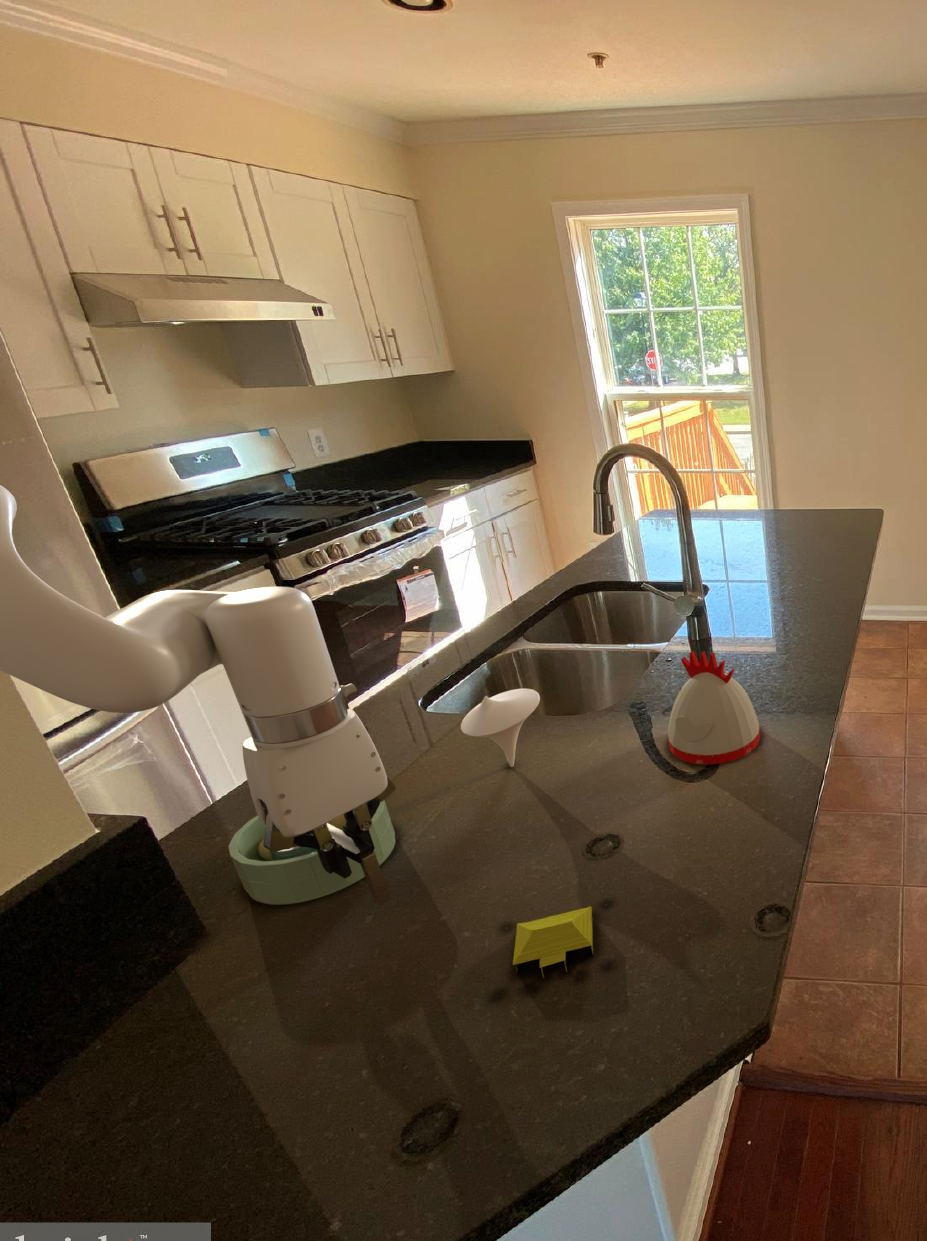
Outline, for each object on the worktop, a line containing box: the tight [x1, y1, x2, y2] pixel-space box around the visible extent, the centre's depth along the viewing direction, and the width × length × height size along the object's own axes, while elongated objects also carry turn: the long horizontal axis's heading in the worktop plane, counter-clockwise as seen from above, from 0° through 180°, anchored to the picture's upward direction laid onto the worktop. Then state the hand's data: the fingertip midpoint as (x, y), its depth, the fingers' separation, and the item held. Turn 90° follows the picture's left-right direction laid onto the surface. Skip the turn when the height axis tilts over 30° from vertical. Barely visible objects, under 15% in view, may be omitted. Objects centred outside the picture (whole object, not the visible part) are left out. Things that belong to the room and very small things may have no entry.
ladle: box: [269, 823, 392, 906], centre depth 76 cm, size 19×5×7 cm, turn 62°
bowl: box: [228, 800, 397, 906], centre depth 81 cm, size 14×14×6 cm
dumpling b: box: [327, 814, 347, 831], centre depth 86 cm, size 3×3×3 cm
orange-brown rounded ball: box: [258, 839, 273, 860], centre depth 81 cm, size 3×3×3 cm
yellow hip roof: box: [497, 903, 608, 998], centre depth 70 cm, size 10×9×3 cm
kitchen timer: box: [667, 650, 761, 766], centre depth 105 cm, size 14×14×15 cm
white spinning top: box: [460, 688, 541, 768], centre depth 99 cm, size 10×11×12 cm
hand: (352, 865), depth 74 cm, fingers closed on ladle
